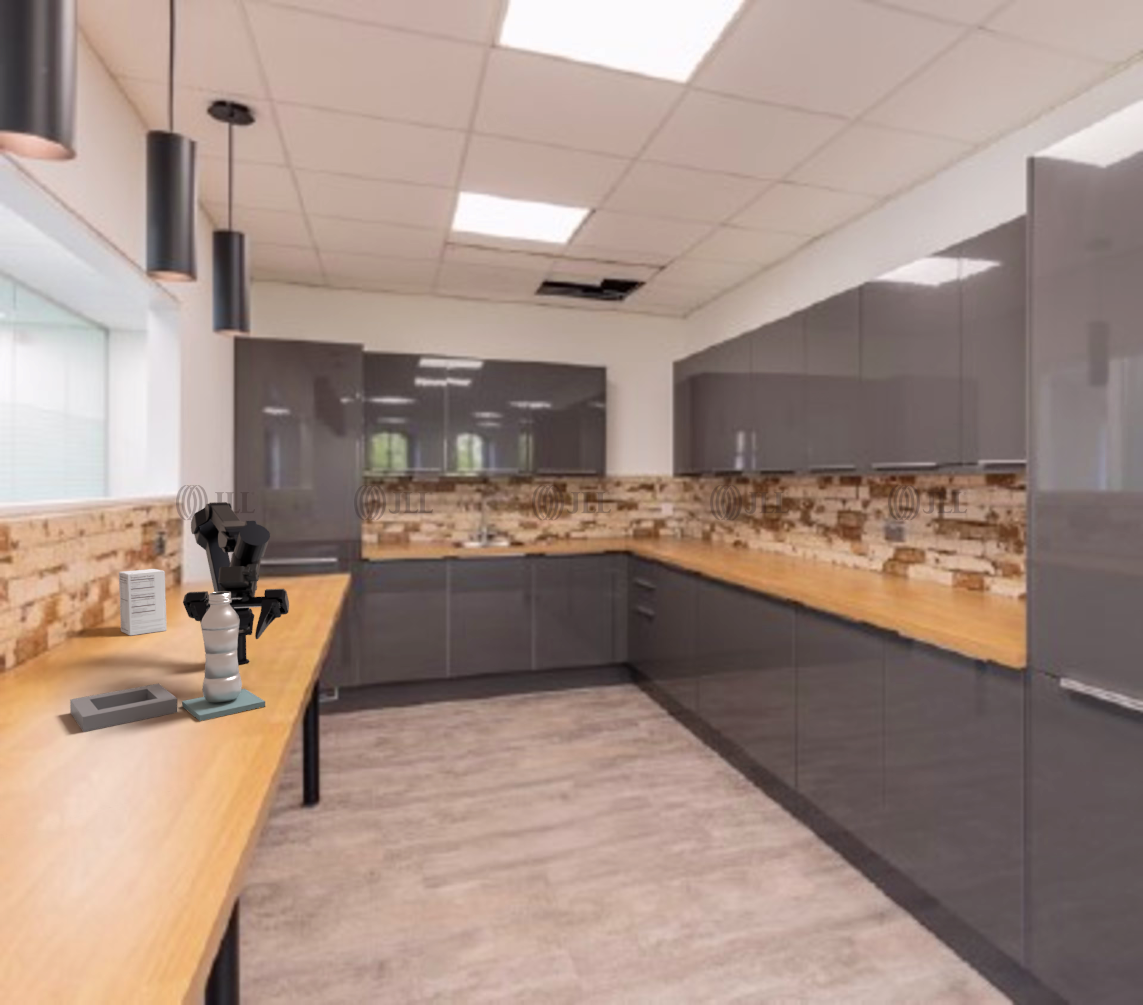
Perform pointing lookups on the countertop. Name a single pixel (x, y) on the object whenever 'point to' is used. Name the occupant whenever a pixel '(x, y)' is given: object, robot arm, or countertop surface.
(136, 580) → the supplement box
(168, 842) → the countertop surface
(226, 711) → the coaster
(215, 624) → the plastic bottle
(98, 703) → the pocket holder
